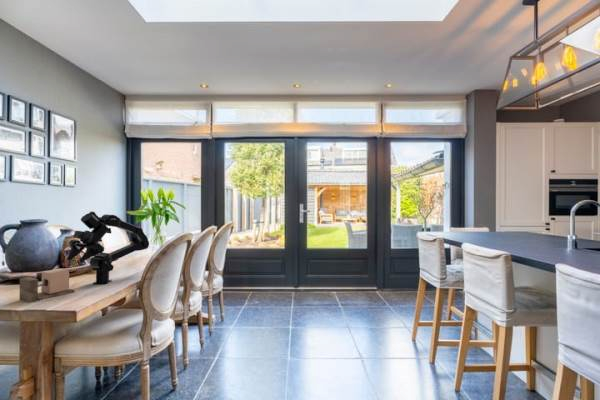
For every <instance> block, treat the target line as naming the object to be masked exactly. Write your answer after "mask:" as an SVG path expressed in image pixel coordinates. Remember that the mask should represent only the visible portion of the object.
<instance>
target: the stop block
mask: <svg viewBox="0 0 600 400" xmlns="http://www.w3.org/2000/svg"><path fill="white" fill-rule="evenodd" d="M38 282H39V279H38V278H34V277H29V276H27V277H21V278H19V301H22V302H27V303H32V302H37V301H39V302H40V300H41V301H44V299H45V300H49V299H53V298H57V297H60V296H64V295H69V294H72V293H75V289H71V288H69V290H65V291H60V292H56V293H52V294H48V293H43V292H41V291H40V292H39V291H38V290H39V287H38ZM52 297H53V298H52ZM48 298H49V299H48Z"/></svg>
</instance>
